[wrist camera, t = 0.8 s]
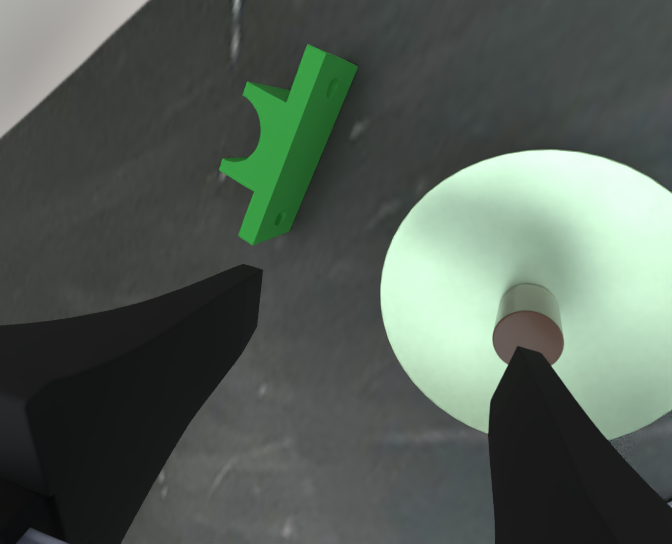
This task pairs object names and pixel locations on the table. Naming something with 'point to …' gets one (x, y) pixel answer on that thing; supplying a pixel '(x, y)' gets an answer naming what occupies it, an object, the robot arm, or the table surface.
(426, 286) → the pot lid
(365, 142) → the table surface
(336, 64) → the pipe clamp
